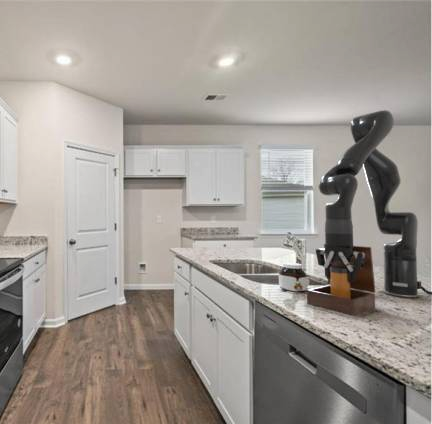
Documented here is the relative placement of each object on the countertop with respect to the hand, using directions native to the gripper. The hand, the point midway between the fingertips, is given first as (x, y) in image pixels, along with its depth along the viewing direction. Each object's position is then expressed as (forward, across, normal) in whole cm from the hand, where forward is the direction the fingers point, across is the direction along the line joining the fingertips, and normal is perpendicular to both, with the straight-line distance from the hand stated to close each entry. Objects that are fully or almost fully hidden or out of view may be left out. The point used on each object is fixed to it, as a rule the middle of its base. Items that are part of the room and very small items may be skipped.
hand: (339, 280), depth 96 cm
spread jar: (+10, +21, -10) cm, 25 cm away
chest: (+10, 0, 0) cm, 10 cm away
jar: (+7, 0, 0) cm, 7 cm away
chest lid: (-4, 0, -6) cm, 7 cm away
